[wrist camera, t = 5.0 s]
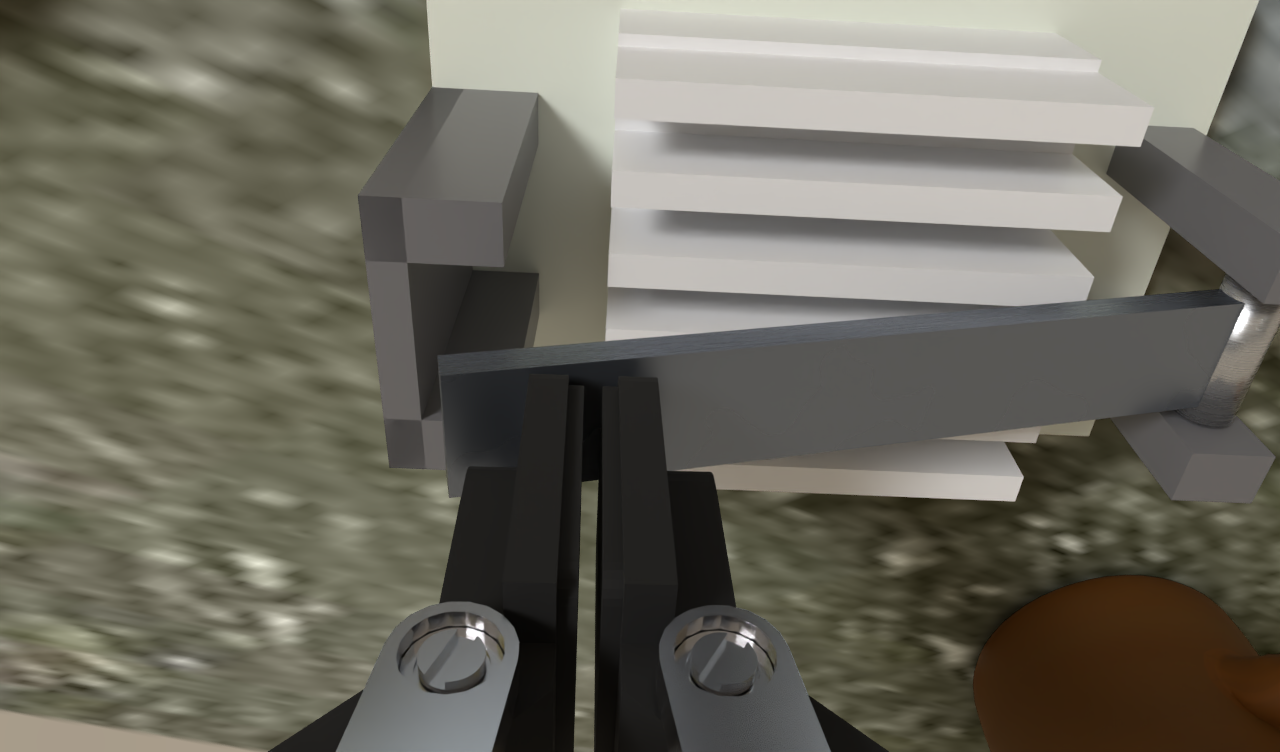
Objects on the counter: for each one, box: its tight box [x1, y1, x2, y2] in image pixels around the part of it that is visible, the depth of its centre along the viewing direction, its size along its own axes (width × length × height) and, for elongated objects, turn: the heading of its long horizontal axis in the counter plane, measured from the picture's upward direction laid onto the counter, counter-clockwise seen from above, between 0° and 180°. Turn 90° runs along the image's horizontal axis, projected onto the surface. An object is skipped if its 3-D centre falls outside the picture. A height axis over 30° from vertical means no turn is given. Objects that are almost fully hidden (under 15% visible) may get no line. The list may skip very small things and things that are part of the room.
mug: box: [973, 575, 1280, 752], centre depth 22 cm, size 12×8×9 cm, turn 160°
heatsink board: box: [358, 0, 1280, 503], centre depth 17 cm, size 15×10×6 cm, turn 87°
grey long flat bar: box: [437, 273, 1280, 498], centre depth 14 cm, size 14×3×1 cm, turn 87°
